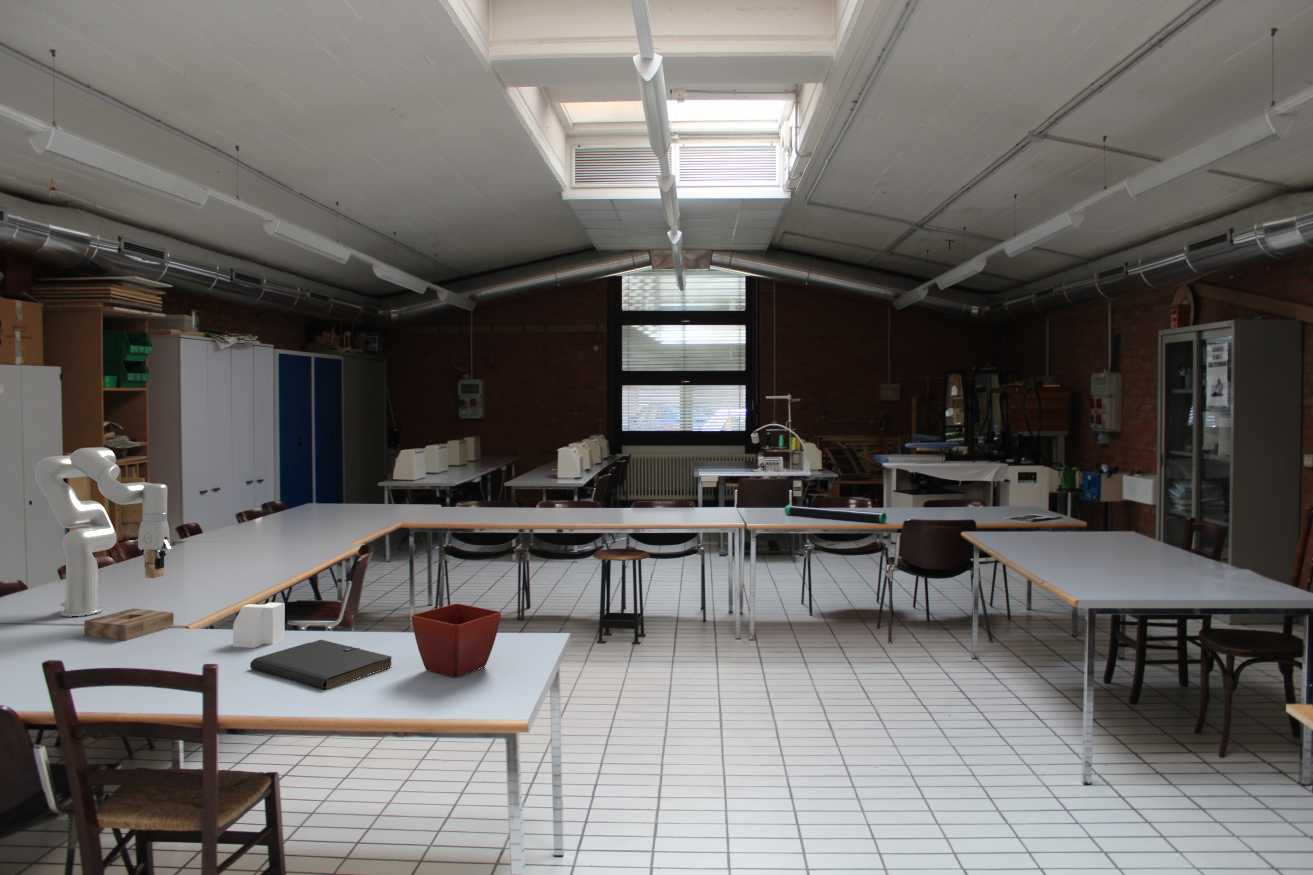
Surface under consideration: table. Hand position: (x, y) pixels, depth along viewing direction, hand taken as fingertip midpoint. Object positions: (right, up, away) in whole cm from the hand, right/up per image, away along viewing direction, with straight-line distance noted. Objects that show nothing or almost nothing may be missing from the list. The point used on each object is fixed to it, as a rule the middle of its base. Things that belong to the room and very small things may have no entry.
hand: (154, 567), depth 284 cm
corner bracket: (+52, -21, -26) cm, 62 cm away
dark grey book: (+83, -22, -51) cm, 100 cm away
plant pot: (+123, -22, -50) cm, 135 cm away
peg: (0, -3, 0) cm, 3 cm away
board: (+2, -19, -16) cm, 25 cm away
